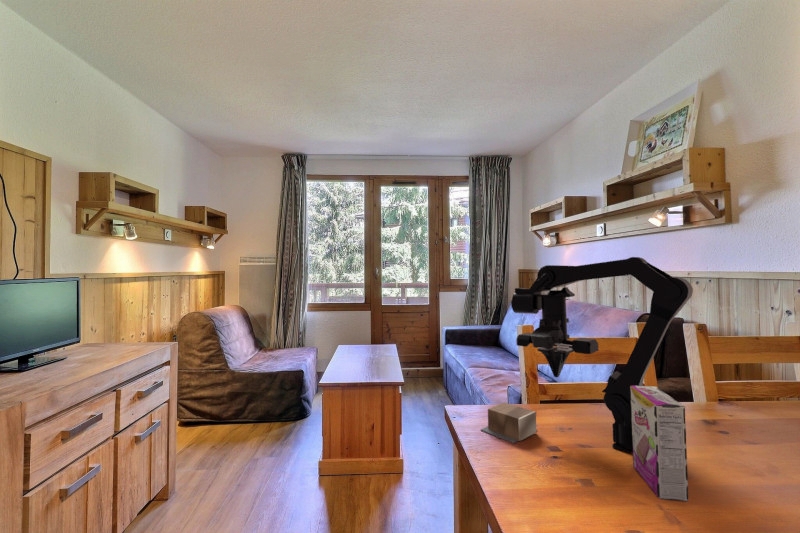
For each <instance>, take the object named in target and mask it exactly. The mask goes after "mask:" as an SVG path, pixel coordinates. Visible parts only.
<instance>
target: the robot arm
mask: <svg viewBox="0 0 800 533" xmlns="http://www.w3.org/2000/svg"><path fill="white" fill-rule="evenodd" d="M625 276H631V277H633V278H635V279H636V280H637V281H639V282H640V283H641V284H642V285H643V286H645V287H646V288H647V289H649V290H650V291H652V296H651V300H650V308H649V314H648V318H647V320H646V321H645V324H644V325H643V328H642V330H641V332H640V334H639V336H638V339H637V340H636V343H635V345H634V347H633V349H632V351H631V354H630V356H629V358H628V360H627V362H626V364H625V366H624V367H623V368H624V369H623V370H622V372H621V373H620V372H619V371H618V370H617V371H615V372H614V373H613V374H611V375H610V376H608V379H607V383H606V387H605V388H604V389H603V390H602V391H601V392H602V393H603V394H604V395H603V402H604V404H605V406H606V407H607V409H608V410H609V411H610V412H611V414H612V417H613V420H614V422H613V423H612V441H613V444H611V446H612V448H614V449H616V450H620V451H623V452H625V453H630V454H632V455H633V439H632V416H631V391H630V386H644V378H645V376H646V373H647V371H648V369H649V368H650V366H651V363H652V361H653V359H654V357H655V355H656V353H657V350H658V349H659V347H660V345H661V342H662V341H663V338H664V337H665V334H666V332H667V330H668V329H669V327H670V324H671V323H672V321H673V320H674V319H675V317H676V316H678V314H679V313H680V311H682V309H683V308H684V306H685V305H686V304H687V303H688V301H689V300H690V299H691V297H693V296H692V295H693V294H694V293H693V292H694V289H693V287H692V285H691V282H689V281H688V280H687V279H686V278H684V277H680V276H671V275H670V274H669V273H667V272H666V271H664V270H662V269H660V268H658V267H656V266H655V265H653V264H651V263H650V262H648V261H647V260H646V259H644V258H643V257H639V256H631V257H628V258H626V259H625V258H624V259H617V260H610V261H603V262H595V263H589V264H588V263H587V264H581V265H558V264H555V265H554V264H552V265H549V264H547V265H544V266H541V267H540V269H539V270H538V272H537V275H536V278H535V281H533V283H532V285H531V286H530V288H524V287H516V288H514V293H513V295H512V298H511V301H510V306H511V309H512V311H513V312H514V313H515V314H529V315H530V314H532V315H537V314H539V313H540V311H541V317H542V318H541V319H539V324H538V327H537V328H536V329H534V330H533V332H525V333H520V334H518V336H516V338H515V339H516V342H515V343H516V346H519V347H524V348H525V347H528V346H530V344H531V345H532V347H533V348H536V350H537V352H540V353H541V354H543V356H544V357H545V359H546V360H547V363H548V365H549V367H550V371H551V372H552V375H553V377H554V378H556V379H557V378H559V377H560V375H561V372H562V370H563V367H564V365H565V363H566V360H567V359H568V357H569V355H570V354H571V353H574V352H575V353H576V354H583V355H591V354H595V353H596V352H599V343H598V341H597V340H596V338H590V337H589V338H587V337H579V338H576V339H573V340H572V339H570V334H568V326H567V324H568V323H569V322H570V318H567V299H566V298H572V297H575V295H576V294H575V293H574V292H573V291H571V290H570V289H569V287H566V286H569V285H572V284H575V283H577V282H581V281H588V280H597V279H606V278H615V277H625ZM562 287H563V288H562ZM554 288H555V290H554ZM556 288H561V290H559V289H558V290H557V289H556ZM552 289H553V290H552ZM542 292H547V294H545V293H542Z"/></svg>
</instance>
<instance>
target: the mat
mask: <svg viewBox="0 0 800 533" xmlns="http://www.w3.org/2000/svg"><path fill="white" fill-rule="evenodd" d="M480 431H481V432H483V433H486V434H489V435H491V436H493V437H497V438H500V439H501V440H504V441H507V442H510V443H512V444H515V443H517V442H520V441H519V440H516V439H514V438H511V437H508V436H505V435H503V434H500V433H497V432H495V431H492V430H489V429H488V425H487V426H486V427H483V428H481V429H480ZM536 432H538V429H536Z"/></svg>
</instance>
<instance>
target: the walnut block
mask: <svg viewBox="0 0 800 533" xmlns="http://www.w3.org/2000/svg"><path fill="white" fill-rule="evenodd" d="M487 426H488V429H489V430H492V431H495V432H497V433H500V434H503V435H505V436H508V437H511V438H514V439H516V440H519V441H518V442H520V441H523V440H525V439H526V438H528V437H530V436H532V435H534V434H537V431H536V430H537V412H536V411H534V410H531V409H527V408H524V407H521V406H517V405H514V404H511V403H507V402H502V403H500V404H497V405H494V406H492V407H489V408H487Z"/></svg>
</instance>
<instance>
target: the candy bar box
mask: <svg viewBox="0 0 800 533" xmlns="http://www.w3.org/2000/svg"><path fill="white" fill-rule="evenodd" d="M630 391H631V416H632V439H633V454H632V461H633V462H632V465H633V468H634V470H635V471H636V472H637V473H638V474H639V476H640V477H641V478H642V479H643V481H644V482H645V483H646V485H648V488H650V489H651V491H652V492H653V494H654V495H656V497H657V498H658V499H659V500H663V501H678V502H689V481H688V480H689V478H688V477H689V474H688V452H687V451H688V450H687V449H688V448H687V428H686V426H687V425H686V405H684V404H682V403H680V401H678V400H676V399H675V398H673V397H672V396H670V395H669V394H667V392H664V391H663V390H662V389H660V388H659V387H658V386H650V385H643V386H630Z"/></svg>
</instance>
